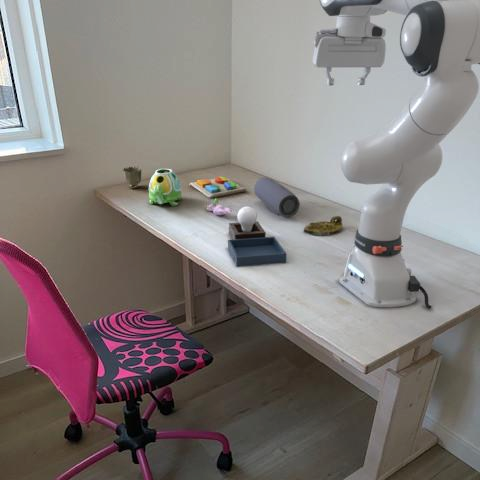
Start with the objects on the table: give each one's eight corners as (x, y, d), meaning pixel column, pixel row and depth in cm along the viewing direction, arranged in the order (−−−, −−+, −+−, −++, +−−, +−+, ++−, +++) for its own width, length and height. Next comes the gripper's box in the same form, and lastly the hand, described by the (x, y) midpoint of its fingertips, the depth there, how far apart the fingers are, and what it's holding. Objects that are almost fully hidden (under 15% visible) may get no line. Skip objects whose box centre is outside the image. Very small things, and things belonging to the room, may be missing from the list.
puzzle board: (211, 199, 200) (211, 191, 198) (188, 186, 213) (187, 178, 211) (247, 192, 208) (247, 184, 206) (223, 180, 221) (223, 172, 219)
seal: (311, 241, 169) (348, 233, 174) (313, 228, 166) (351, 221, 171) (297, 228, 175) (333, 221, 181) (299, 216, 172) (335, 209, 178)
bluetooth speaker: (300, 219, 183) (302, 192, 178) (276, 222, 180) (278, 194, 175) (273, 199, 201) (275, 174, 196) (252, 202, 198) (253, 176, 193)
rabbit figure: (201, 213, 190) (221, 219, 178) (200, 197, 187) (220, 202, 176) (216, 210, 193) (236, 216, 181) (215, 195, 190) (235, 200, 178)
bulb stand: (265, 244, 164) (265, 232, 161) (234, 246, 162) (235, 234, 159) (257, 232, 172) (257, 221, 170) (228, 234, 170) (228, 223, 168)
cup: (124, 185, 212) (121, 166, 208) (141, 184, 214) (139, 165, 210) (126, 191, 206) (124, 171, 202) (144, 189, 208) (142, 170, 204)
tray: (285, 262, 152) (286, 253, 150) (236, 266, 149) (236, 257, 147) (273, 245, 163) (274, 236, 161) (227, 248, 160) (227, 239, 158)
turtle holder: (141, 210, 188) (139, 178, 181) (155, 195, 203) (152, 165, 196) (174, 212, 186) (172, 180, 180) (185, 197, 202) (184, 167, 195)
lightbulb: (259, 238, 168) (261, 206, 162) (249, 244, 163) (250, 211, 157) (243, 233, 170) (244, 202, 165) (233, 240, 166) (233, 207, 160)
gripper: (319, 29, 132) (314, 87, 139) (391, 30, 136) (383, 86, 143) (311, 28, 137) (307, 83, 144) (381, 29, 141) (373, 83, 148)
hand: (345, 85), depth 144 cm, fingers open, 8 cm apart
